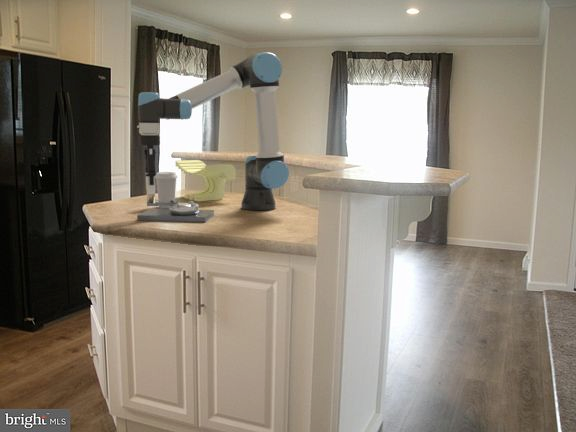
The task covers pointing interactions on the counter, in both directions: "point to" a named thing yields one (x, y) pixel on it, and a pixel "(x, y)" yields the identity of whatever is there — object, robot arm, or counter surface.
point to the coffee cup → (166, 187)
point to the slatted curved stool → (208, 178)
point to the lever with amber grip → (174, 205)
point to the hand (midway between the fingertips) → (150, 191)
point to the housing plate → (174, 216)
